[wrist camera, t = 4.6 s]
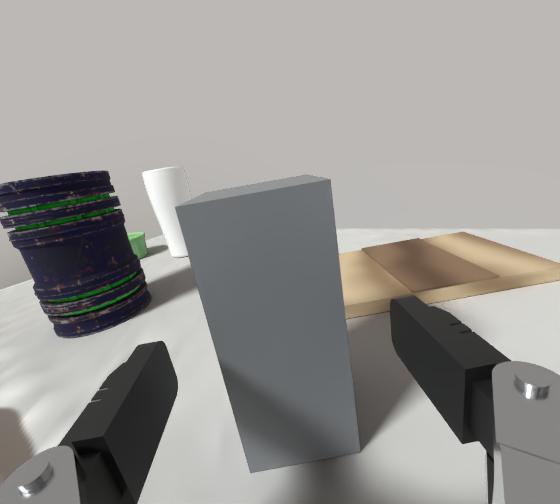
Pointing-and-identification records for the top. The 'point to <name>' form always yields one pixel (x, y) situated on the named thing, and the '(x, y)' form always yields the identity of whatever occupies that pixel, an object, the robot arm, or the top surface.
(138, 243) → the ramekin
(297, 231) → the tall grey rectangular prism
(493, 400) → the robot arm
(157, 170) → the drinking glass
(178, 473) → the top surface
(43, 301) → the storage jar
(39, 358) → the top surface
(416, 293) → the board
